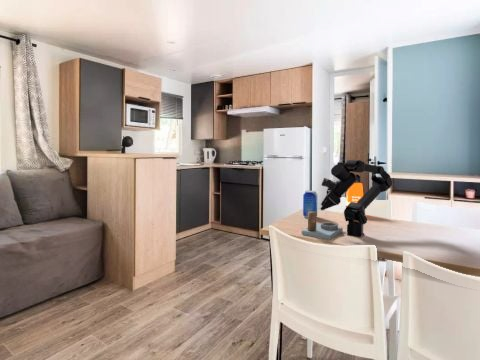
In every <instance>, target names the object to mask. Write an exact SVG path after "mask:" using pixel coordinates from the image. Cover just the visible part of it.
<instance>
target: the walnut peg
mask: <svg viewBox="0 0 480 360" xmlns="http://www.w3.org/2000/svg"><path fill="white" fill-rule="evenodd" d="M317 217H318V211H317V212H314V211H310V212H308V218H307V228H308V231H311V232H314V231H316V224H317Z"/></svg>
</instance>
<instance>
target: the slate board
mask: <svg viewBox="0 0 480 360" xmlns="http://www.w3.org/2000/svg"><path fill="white" fill-rule="evenodd" d="M343 230H344V229H343V227H340V226H339V225H338V223H335V222H330V221H329V222H327V221H325V222H320V223H316V231H314V232H311V231H308V227H307V228H304V229H302V230H301V235H302V234H304V235H303V236H307V235H309V236H308V237H313V236H314V238H318V237H319V238H320V239H323V238H324V239H323V240H331V239H333V238H334V237H335V236H338V235H339V234H341V233H343ZM319 238H318V239H319Z"/></svg>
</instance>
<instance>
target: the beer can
mask: <svg viewBox="0 0 480 360" xmlns="http://www.w3.org/2000/svg"><path fill="white" fill-rule="evenodd" d="M310 211H314V212H317V213H318V193H317V191H316V190H305V191H304V193H303V195H302V216H303V217H304V218H305V219H308V212H310Z"/></svg>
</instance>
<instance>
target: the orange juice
mask: <svg viewBox="0 0 480 360" xmlns="http://www.w3.org/2000/svg"><path fill="white" fill-rule="evenodd" d="M363 189H364V188H363V183H361V182H358V183H357V182H355V183H354V184H353V185H352V186H351V187H350V188H349V189H348V191H347V192H345V193H346V197H345V198H346V200H345V209H346V208H347V207H346V206H348V205H349V203H350V202H355V203H357V202H358V201H359V200H360V199H361V197H362V196H363V195H364V190H363Z"/></svg>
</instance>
